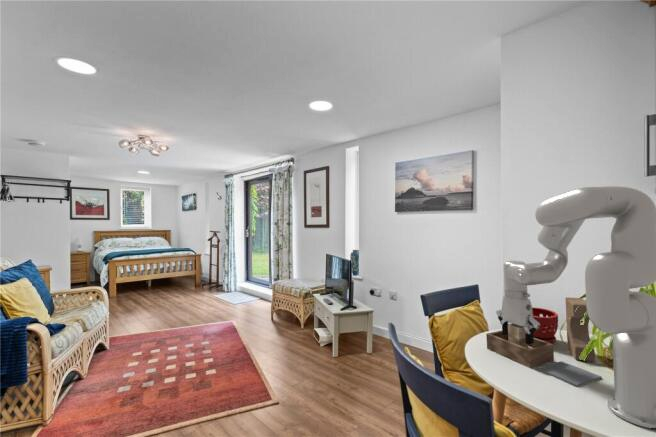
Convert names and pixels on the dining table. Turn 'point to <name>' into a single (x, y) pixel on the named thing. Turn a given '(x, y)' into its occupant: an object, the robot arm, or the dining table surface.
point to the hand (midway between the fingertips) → (517, 338)
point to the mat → (569, 373)
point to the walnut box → (521, 350)
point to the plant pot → (545, 324)
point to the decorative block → (577, 328)
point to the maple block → (517, 335)
